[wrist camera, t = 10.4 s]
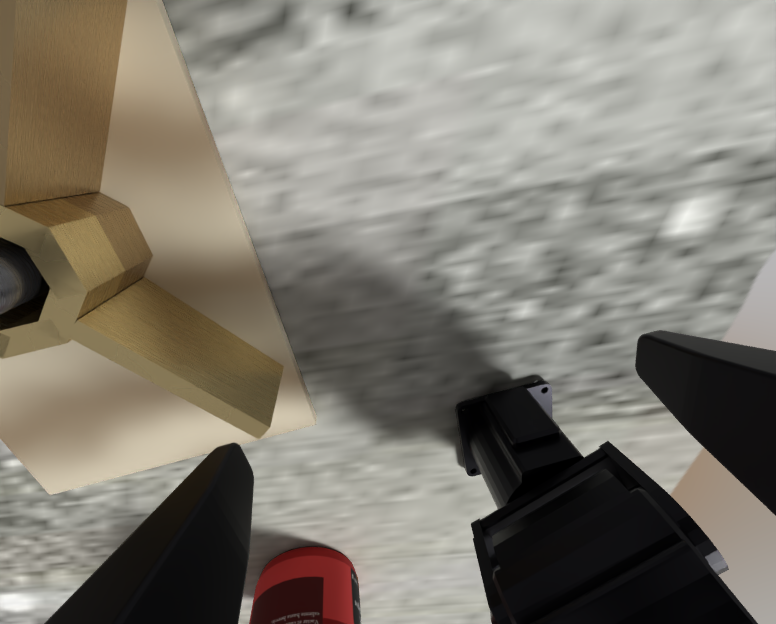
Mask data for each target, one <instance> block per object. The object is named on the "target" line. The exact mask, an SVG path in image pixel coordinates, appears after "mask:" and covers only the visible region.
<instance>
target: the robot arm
mask: <svg viewBox="0 0 776 624" xmlns="http://www.w3.org/2000/svg"><path fill="white" fill-rule="evenodd" d="M635 367H636V371H637V373H638V375H639V376H640V378H641V379H642V380H643V381H644V382H645V383H646V385H647V386H648V387H649V388H650V389H651V390H652V391H653V393H654V394H655V395H656V396H657V397H658V398H659V399H660V401H661V402H662V403H663V404H664V405H665V406H666V407H667V408H668V410H669V411H670V412H671V413H672V414H673V415H674V416H675V418H676V419H677V420H678V421H679V422H680V423H681V424H682V425H683V426H684V428H685V429H686V430H687V431H688V432H689V433H690V434H691V435H692V436H693V437H694V438H695V439H696V440H697V441H698V442H699V443H700V444H701V445H702V446H703V447H704V448H705V449H707V451H709V452H710V453H711V454H712V455H713V456H714V457H715V458H716V459H717V460H718V461H719V462H720V463H721V464H722V465H723V466H724V467H725V468H727V470H728V471H730V472H731V473H732V474H733V475H734V476H735V477H736V478H737V479H738V480H739V481H740V482H741V483H742V484H743V485H744V486H745V487H746V488H748V490H750V492H752V493H753V494H754V495H755V496H756V497H757V498H758V499H759V500H760V501H761V502H762V503H763V504H764V505H765V506H767V508H768V509H769V510H770V511H771V512H773V513H774V514H775V515H776V351H773V350H767V349H761V348H756V347H750V346H744V345H739V344H734V343H728V342H723V341H717V340H712V339H706V338H701V337H695V336H690V335H684V334H679V333H673V332H668V331H662V330H659V331H654V332H650V333H646V334H643V335H641V336H640V337H639V339H638V343H637V353H636V363H635ZM544 387H545V388H544ZM542 388H544V389H542ZM541 389H542V390H541ZM463 409H465V410H464V411H462V410H463ZM455 410H456V416H457V422H458V429H459V435H460V441H461V447H462V453H463V460H464V466H465V470H466V472H467V474H468V475H469V476H476V475H480V474H482V476H483V478H484V480H485V482H486V485H487V487H488V489H489V491H490V493H491V495H492V497H493V499H494V501H495V503H496V506H497V508H498V510H496V511H494V512H493V513H491V514H489V515H488V516H486V517H484V518H483V519H481V520H480V519H478V520H476V521H474V522H473V523H471V527H472V531H473V535H474V538H473V542H474V546H475V550H476V554H477V559H478V563H479V567H480V571H481V576H482V580H483V584H484V588H485V593H486V597H487V601H488V605H489V608H490V613H491V622H492V624H758V623H757V622H756V621H755V620H754V618H753V617H752V616H751V615H750V614H749V612H748V611H747V610H746V609H745V608H744V606H743V605H742V604H741V603H740V602H739V600H738V599H737V598H736V596H735V595H734V594H733V593H732V592H731V590H730V589H729V588H728V587H727V586H726V584H725V583H724V582H723V581H722V579H721V578H720V577H719V576H718V575H719V574H721V573H723V572H725V571H727V570H729V569H728V565H727V564H726V562H725V560H724V558H723V557H722V555H721V554H720V552H719V551H718V550H717V548H716V547H715V546H714V545H713V543H712V542H711V540H710V539H709V538H708V537H707V535H706V534H705V533H704V532H703V531H702V530H701V528H700V527H699V526H698V525H697V524H696V523H695V521H694V520H693V519H692V518H691V517H690V516H689V515H688V514H687V512H686V511H685V510H684V509H683V508H682V507H681V506H680V505H679V504H678V503H677V502H676V501H675V500H674V499H673V498H672V497H671V496H670V495H669V494H668V493H667V492H666V491H665V490H664V489H663V488H662V487H660V486H659V485H658V484H657V483H656V482H655V481H654V480H652V479H651V478H650V477H649V476H648V475H647V474H646V473H644V472H643V471H642V470H641V469H640V468H639V467H637V466H636V465H635V464H634V463H633V462H632V461H631V460H629V459H628V458H627V457H626V456H625V455H624V454H623V453H621V452H620V451H619V450H618V449H617V448H616V447H614V446H613V445H612V444H611V443H610V442H609V441H607V442H605V443H604V444H602V445H600V446H599V447H600V448H599V449H598V450H596V451H594V452H593V453H591V454H589V455H588V456H586V457H583V456H582V455H581V453H580V452H579V451H578V450H577V449H576V447H575V446H574V445H573V444H572V443H571V441H570V440H569V439H568V438H567V437H566V436H565V434H564V433H563V432H562V431H561V430H560V428H559V426H558V425H557V424H556V423H555V422H554V420H553V419H552V387H551V386H550V385H549V383H548V382H547V381H539V382H535V383H531V384H527V385H524V386H520V387H516V388H512V389H509V390H505V391H501V392H498V393H494V394H490V395H486V396H483V397H479V398H475V399H471V400H468V401H464V402H461V403H459V404H458V405H457V406H456V409H455ZM253 486H254V476H253V471H252V468H251V466H250V464H249V462H248V460H247V458H246V456H245V454H244V452H243V450H242V449H241V447H240V445H239V444H238V443H230V444H226V445H222V446H219V447H216V448H215V449H214V450H213V451H212V452H211V453H210V454H209V455H208V456H207V457H206V458H205V459H204V460H203V461H202V462H201V463H200V464H199V465H198V466H197V467H196V468H195V469H194V470H193V472H192V473H191V474H190V475H189V476H188V477H187V478H186V479H185V480H184V481H183V482H182V483H181V484H180V485H179V486H178V487H177V488H176V489H175V490H174V491H173V492H172V493H171V494H170V495H169V496H168V497H167V498H166V499H165V500H164V501H163V502H162V503H161V504H160V505H159V506H158V507H157V509H156V510H155V511H154V512H153V513H152V514H151V515H150V516H149V517H148V518H147V519H146V520H145V521H144V522H143V523H142V524H141V525H140V526H139V527H138V528H137V529H136V530H135V531H134V532H133V533H132V534H131V535H130V536H129V537H128V538H127V539H126V540H125V541H124V542H123V543H122V544H121V545H120V547H119V548H118V549H117V550H116V551H115V552H114V553H113V554H112V555H111V556H110V557H109V558H108V559H107V560H106V561H105V562H104V563H103V564H102V565H101V566H100V567H99V568H98V569H97V570H96V571H95V572H94V573H93V574H92V575H91V576H90V577H89V578H88V579H87V580H86V581H85V582H84V583H83V584H82V586H81V587H80V588H79V589H78V590H77V591H76V592H75V593H74V594H73V595H72V596H71V597H70V598H69V599H68V600H67V601H66V602H65V603H64V604H63V605H62V606H61V607H60V608H59V609H58V610H57V611H56V612H55V613H54V614H53V615H52V616H51V617H50V618H49V619H48V620H47V621H46V622H45V624H238V621H239V615H240V609H241V603H242V597H243V590H244V584H245V578H246V572H247V566H248V559H249V549H250V536H251V519H252V503H253Z"/></svg>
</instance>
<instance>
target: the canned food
mask: <svg viewBox="0 0 776 624" xmlns="http://www.w3.org/2000/svg"><path fill="white" fill-rule="evenodd" d="M249 624H361V613H360V598H359V584H358V577H357V575H356V572H355V569H354V567H353V565H352V563H351V561H350V560H349V559H348V558H347V557H345V556H344V555H343V554H341V553H339V552H337V551H334V550H331V549H328V548H322V547H303V548H297V549H293V550H290V551H287V552H285V553H283V554H280V555H279V556H277V557H276V558H274V559H272V560H271V561H270V562H269V563H268V564H267V565H266V567H265V568H264V570H263V571H262V573H261V576H260V578H259V580H258V582H257V585H256V589H255V594H254V600H253V606H252V611H251V617H250V622H249Z"/></svg>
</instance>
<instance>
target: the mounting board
mask: <svg viewBox="0 0 776 624" xmlns="http://www.w3.org/2000/svg"><path fill="white" fill-rule="evenodd" d="M99 192H101V193H103V194H105V195H106V196H108V197H110V198H112V199H114V200H116V201H118V202H120V203H122V204H124V205H126V206H128V207H129V208H130V210H131V212H132V214H133V216H134V218H135V220H136V222H137V224H138V226H139V228H140V230H141V232H142V234H143V236H144V238H145V240H146V242H147V244H148V246H149V248H150V250H151V252H152V254H153V257H152V259H151V262H150V264H149V266H148V269H147V271H146V273H145V275H144V277H146V278H147V279H149V280H150V281H152V282H153V283H155V284H156V285H158V286H160V287H161V288H163V289H164V290H166V291H167V292H169V293H170V294H172V295H174V296H175V297H177V298H178V299H180V300H181V301H183V302H184V303H186V304H188V305H189V306H191V307H192V308H194V309H195V310H197V311H199V312H200V313H202V314H203V315H205V316H206V317H208V318H209V319H211V320H213V321H214V322H216V323H217V324H219V325H220V326H222V327H223V328H225V329H227V330H228V331H230V332H231V333H233V334H234V335H236V336H237V337H239V338H241V339H242V340H244V341H245V342H247V343H248V344H250V345H252V346H253V347H255V348H256V349H258V350H259V351H261V352H262V353H264V354H266V355H267V356H269V357H270V358H272V359H273V360H275V361H276V362H278V363H280V364H281V365H283V366H284V368H283V373H282V377H281V382H280V386H279V391H278V395H277V400H276V404H275V409H274V413H273V417H272V422H271V426H270V428H269V429H268V431H267V432H266V433H265V434H264V435H263V436H262V437H261V438H260V439H263V438H267V437H271V436H275V435H279V434H282V433H286V432H290V431H294V430H297V429H301V428H305V427H309V426H313V425H316V418H317V416H316V413H315V410H314V408H313V405H312V402H311V400H310V397H309V394H308V391H307V389H306V386H305V383H304V381H303V378H302V375H301V373H300V370H299V367H298V365H297V362H296V359H295V356H294V354H293V351H292V348H291V346H290V343H289V340H288V338H287V335H286V332H285V330H284V327H283V324H282V322H281V319H280V316H279V313H278V311H277V308H276V305H275V303H274V300H273V297H272V295H271V292H270V289H269V287H268V284H267V281H266V278H265V276H264V273H263V270H262V268H261V265H260V262H259V260H258V257H257V254H256V252H255V249H254V246H253V243H252V241H251V238H250V235H249V233H248V230H247V227H246V225H245V222H244V219H243V217H242V214H241V211H240V209H239V206H238V203H237V200H236V198H235V195H234V192H233V190H232V187H231V184H230V182H229V179H228V176H227V174H226V171H225V168H224V165H223V163H222V160H221V157H220V155H219V152H218V149H217V147H216V144H215V141H214V139H213V136H212V133H211V130H210V128H209V125H208V122H207V120H206V117H205V114H204V112H203V109H202V106H201V104H200V101H199V98H198V96H197V93H196V90H195V87H194V85H193V82H192V79H191V77H190V74H189V71H188V69H187V66H186V63H185V61H184V58H183V55H182V52H181V50H180V47H179V44H178V42H177V39H176V36H175V34H174V31H173V28H172V26H171V23H170V20H169V17H168V15H167V12H166V9H165V7H164V4H163V1H162V0H128V1H127V8H126V15H125V22H124V28H123V35H122V42H121V49H120V56H119V63H118V70H117V77H116V84H115V91H114V98H113V105H112V112H111V119H110V126H109V133H108V140H107V147H106V154H105V161H104V167H103V174H102V181H101V188H100V191H99ZM0 439H1V440H2V441H3V442H4V443H5V444H6V446H7V447H8V448H9V449H10V450H11V451H12V452H13V454H14V455H15V456H16V457H17V458H18V459H19V460H20V462H21V463H22V464H23V465H24V466H25V467H26V468H27V470H28V471H29V472H30V473H31V474H32V475H33V476H34V478H35V479H36V480H37V481H38V482H39V483H40V484H41V486H42V487H43V488H44V489H45V490H46V491H47V492H48V494H49V495H52V494H56V493H60V492H64V491H67V490H71V489H75V488H79V487H82V486H86V485H90V484H94V483H97V482H101V481H105V480H109V479H113V478H116V477H120V476H124V475H128V474H131V473H135V472H139V471H143V470H147V469H150V468H154V467H158V466H162V465H165V464H169V463H173V462H177V461H180V460H184V459H188V458H192V457H196V456H199V455H203V454H207V453H211V452H212V451H213V450H214V449H215V448H216V447H219V446H222V445H226V444H230V443H238V444H239V445H241V444H245V443H248V442H252V441H256V440H260V439H257V438H255V437H253V436H251V435H250V434H248V433H246V432H244V431H242V430H240V429H238V428H236V427H235V426H233V425H231V424H229V423H227V422H225V421H223V420H221V419H220V418H218V417H216V416H214V415H212V414H210V413H208V412H207V411H205V410H203V409H201V408H199V407H197V406H195V405H193V404H192V403H190V402H188V401H186V400H184V399H182V398H180V397H178V396H177V395H175V394H173V393H171V392H169V391H167V390H165V389H164V388H162V387H160V386H158V385H156V384H154V383H152V382H150V381H149V380H147V379H145V378H143V377H141V376H139V375H137V374H135V373H134V372H132V371H130V370H128V369H126V368H124V367H122V366H121V365H119V364H117V363H115V362H113V361H111V360H109V359H107V358H106V357H104V356H102V355H100V354H98V353H96V352H94V351H92V350H91V349H89V348H87V347H85V346H83V345H81V344H79V343H78V342H76V341H74V340H71V341H70V342H68V343H66V344H62V345H58V346H54V347H50V348H46V349H42V350H37V351H33V352H29V353H25V354H21V355H17V356H13V357H9V358H5V359H2V358H0Z"/></svg>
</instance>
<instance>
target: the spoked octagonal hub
mask: <svg viewBox="0 0 776 624" xmlns="http://www.w3.org/2000/svg"><path fill="white" fill-rule="evenodd" d="M127 1H128V0H0V238H4V239H6V240H8V241H10V242H13V243H15V244H17V245H19V246H22V247H24V248H25V250H26V251H27V253H28V254H29V256H30V257H31V259H32V260H33V262H34V264H35V265H36V267H37V268H38V270H39V271H40V273H41V274H42V276H43V277H44V279H45V281H46V282H47V284H48V285H49V287H50V291H49V292H46V293H44V294H42V295H40V296H38V297H36V298H34V299H32V300H30V301H27V302H25V303H23V304H21V305H19V306H17V307H15V308H13V309H11V310H8V311H6V312H4V313H2V314H0V358H2V359H5V358H9V357H13V356H17V355H21V354H25V353H29V352H33V351H37V350H42V349H46V348H50V347H54V346H58V345H62V344H66V343H68V342H70V341H71V340H74V341H76V342H78V343H79V344H81V345H83V346H85V347H87V348H89V349H91V350H92V351H94V352H96V353H98V354H100V355H102V356H104V357H106V358H107V359H109V360H111V361H113V362H115V363H117V364H119V365H121V366H122V367H124V368H126V369H128V370H130V371H132V372H134V373H135V374H137V375H139V376H141V377H143V378H145V379H147V380H149V381H150V382H152V383H154V384H156V385H158V386H160V387H162V388H164V389H165V390H167V391H169V392H171V393H173V394H175V395H177V396H178V397H180V398H182V399H184V400H186V401H188V402H190V403H192V404H193V405H195V406H197V407H199V408H201V409H203V410H205V411H207V412H208V413H210V414H212V415H214V416H216V417H218V418H220V419H221V420H223V421H225V422H227V423H229V424H231V425H233V426H235V427H236V428H238V429H240V430H242V431H244V432H246V433H248V434H250V435H251V436H253V437H255V438H257V439H260V438H261V437H262V436H263V435H264V434H265V433H266V432H267V431H268V429H269V428H270V426H271V422H272V417H273V413H274V409H275V404H276V400H277V395H278V391H279V386H280V382H281V377H282V373H283V368H284V366H283V365H281V364H280V363H278V362H276V361H275V360H273V359H272V358H270V357H269V356H267V355H266V354H264V353H262V352H261V351H259V350H258V349H256V348H255V347H253V346H252V345H250V344H248V343H247V342H245V341H244V340H242V339H241V338H239V337H237V336H236V335H234V334H233V333H231V332H230V331H228V330H227V329H225V328H223V327H222V326H220V325H219V324H217V323H216V322H214V321H213V320H211V319H209V318H208V317H206V316H205V315H203V314H202V313H200V312H199V311H197V310H195V309H194V308H192V307H191V306H189V305H188V304H186V303H184V302H183V301H181V300H180V299H178V298H177V297H175V296H174V295H172V294H170V293H169V292H167V291H166V290H164V289H163V288H161V287H160V286H158V285H156V284H155V283H153V282H152V281H150V280H149V279H147V278H146V277H144V275H145V273H146V271H147V269H148V266H149V264H150V262H151V259H152V257H153V254H152V252H151V250H150V248H149V246H148V244H147V242H146V240H145V238H144V236H143V234H142V232H141V230H140V228H139V226H138V224H137V222H136V220H135V218H134V216H133V214H132V212H131V210H130V208H129V207H128V206H126V205H124V204H122V203H120V202H118V201H116V200H114V199H112V198H110V197H108V196H106V195H105V194H103V193H101V192H99V191H100V188H101V181H102V174H103V167H104V161H105V154H106V147H107V140H108V133H109V126H110V119H111V112H112V105H113V98H114V91H115V84H116V77H117V70H118V63H119V56H120V49H121V42H122V35H123V28H124V22H125V15H126V8H127Z"/></svg>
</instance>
